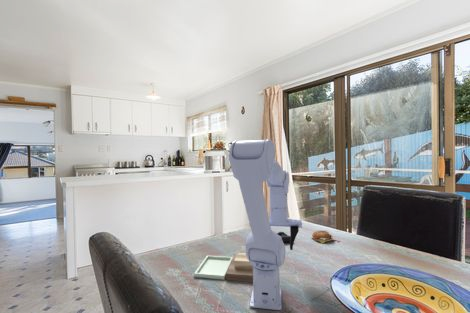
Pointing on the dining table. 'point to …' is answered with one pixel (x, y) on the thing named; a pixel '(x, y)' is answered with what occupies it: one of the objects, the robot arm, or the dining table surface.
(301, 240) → the dining table surface
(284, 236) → the black toy gun
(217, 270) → the green tray
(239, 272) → the walnut board
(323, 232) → the hamburger
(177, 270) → the dining table surface
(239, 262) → the oak tile
